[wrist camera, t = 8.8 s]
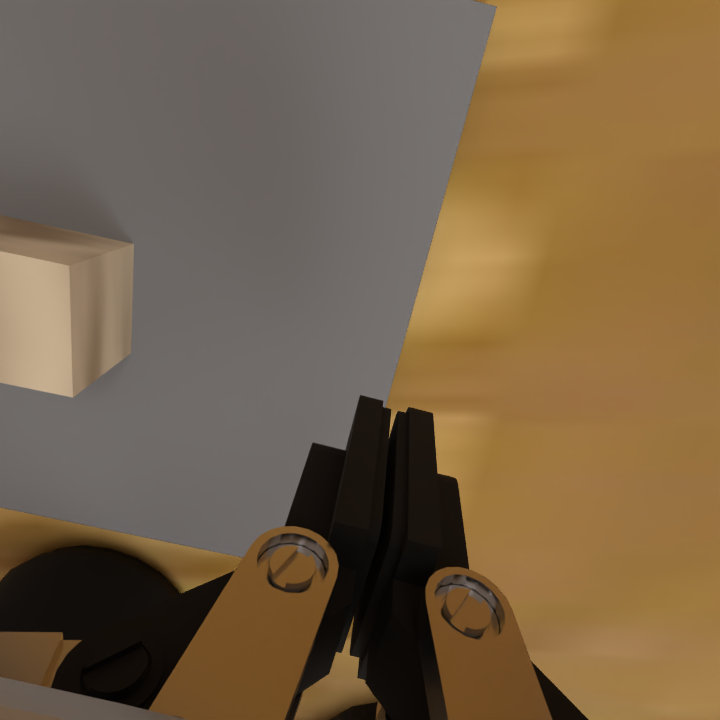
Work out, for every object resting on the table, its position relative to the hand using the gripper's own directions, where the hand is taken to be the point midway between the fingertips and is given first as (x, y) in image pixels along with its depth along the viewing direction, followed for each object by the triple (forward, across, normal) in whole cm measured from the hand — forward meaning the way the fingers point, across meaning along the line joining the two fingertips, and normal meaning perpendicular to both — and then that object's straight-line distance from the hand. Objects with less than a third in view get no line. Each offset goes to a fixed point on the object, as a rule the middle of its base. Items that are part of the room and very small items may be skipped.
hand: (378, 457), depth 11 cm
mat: (+9, +12, +2) cm, 15 cm away
